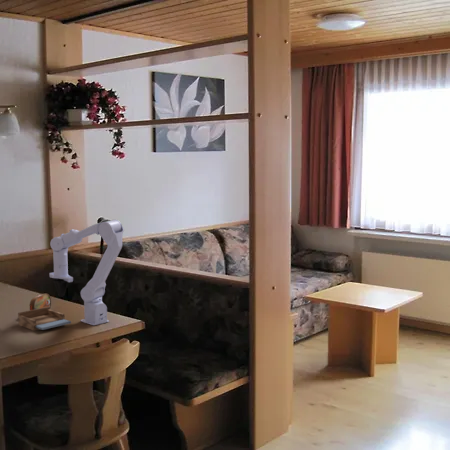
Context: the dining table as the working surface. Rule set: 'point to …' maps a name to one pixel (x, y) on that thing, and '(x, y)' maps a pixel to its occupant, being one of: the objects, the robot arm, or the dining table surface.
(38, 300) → the tin
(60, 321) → the panel
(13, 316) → the dining table surface
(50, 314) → the light wood shallow box
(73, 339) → the dining table surface
